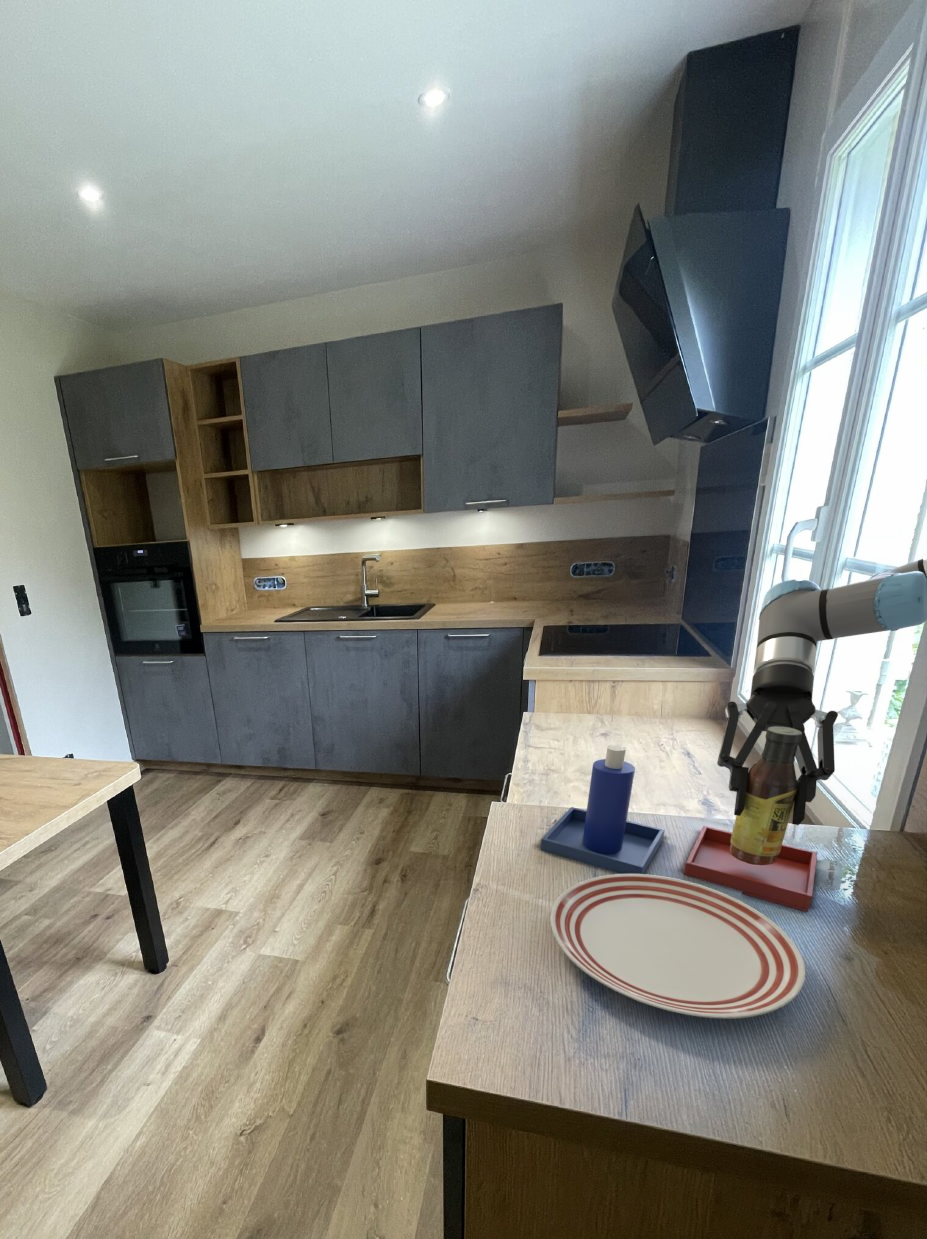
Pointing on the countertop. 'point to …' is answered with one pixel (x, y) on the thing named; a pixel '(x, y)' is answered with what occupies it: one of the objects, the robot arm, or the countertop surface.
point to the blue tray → (629, 860)
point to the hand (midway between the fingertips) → (768, 816)
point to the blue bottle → (608, 802)
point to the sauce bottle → (767, 800)
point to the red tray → (754, 870)
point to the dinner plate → (677, 946)
